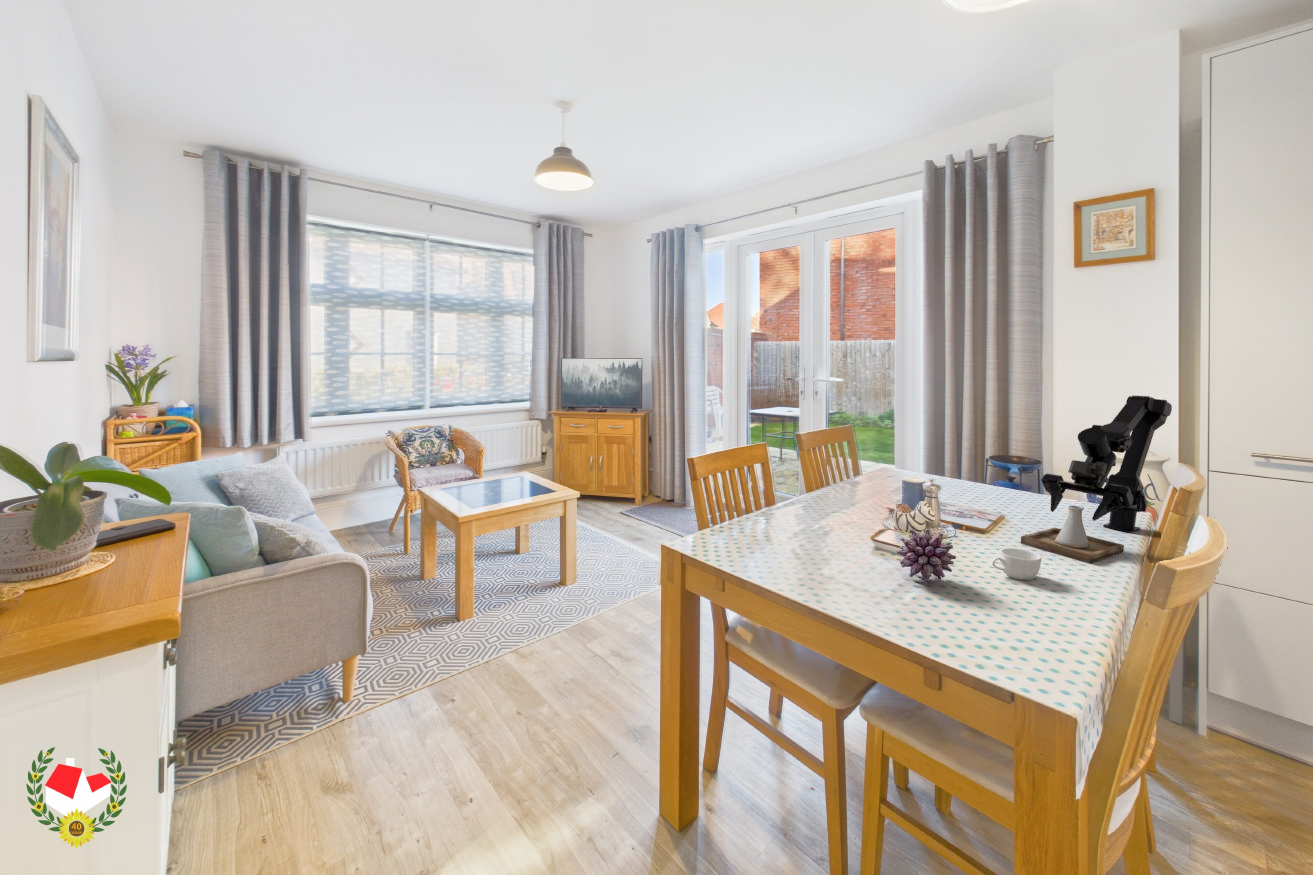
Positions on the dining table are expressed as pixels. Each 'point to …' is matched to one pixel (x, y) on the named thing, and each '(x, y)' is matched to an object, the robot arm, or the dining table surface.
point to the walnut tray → (1089, 555)
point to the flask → (1073, 530)
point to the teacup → (1019, 563)
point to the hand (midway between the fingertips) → (1072, 515)
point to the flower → (926, 554)
